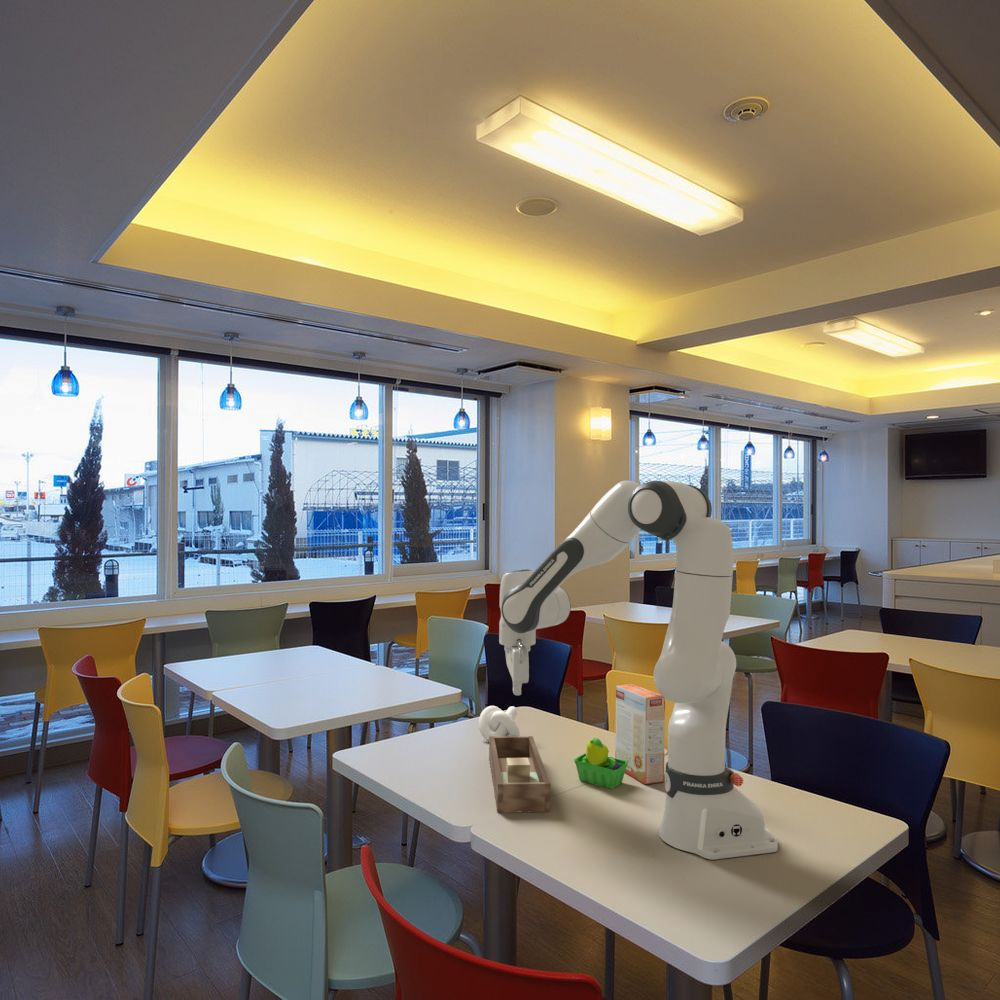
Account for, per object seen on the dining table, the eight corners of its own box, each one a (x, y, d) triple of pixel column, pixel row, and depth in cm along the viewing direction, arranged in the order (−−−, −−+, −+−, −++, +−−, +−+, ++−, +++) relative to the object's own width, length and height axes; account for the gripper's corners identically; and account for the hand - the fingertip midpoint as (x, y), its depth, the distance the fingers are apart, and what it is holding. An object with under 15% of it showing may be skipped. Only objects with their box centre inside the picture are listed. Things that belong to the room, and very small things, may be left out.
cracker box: (665, 782, 176) (666, 695, 176) (644, 785, 174) (645, 697, 174) (634, 764, 189) (635, 682, 189) (614, 766, 187) (614, 684, 187)
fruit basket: (629, 782, 176) (629, 735, 176) (611, 793, 169) (612, 744, 169) (588, 772, 183) (588, 726, 183) (569, 782, 175) (570, 735, 176)
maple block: (527, 774, 172) (527, 757, 172) (529, 782, 167) (529, 765, 167) (506, 775, 171) (506, 757, 171) (507, 782, 166) (508, 765, 166)
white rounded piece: (490, 730, 217) (491, 700, 217) (528, 736, 212) (529, 704, 212) (474, 741, 206) (475, 709, 206) (514, 747, 202) (514, 714, 202)
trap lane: (532, 759, 192) (532, 736, 192) (550, 811, 158) (550, 783, 158) (489, 759, 191) (489, 736, 191) (497, 812, 157) (497, 784, 157)
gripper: (535, 643, 167) (534, 704, 167) (526, 630, 187) (525, 684, 187) (507, 643, 166) (507, 705, 166) (501, 630, 187) (501, 684, 187)
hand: (517, 693), depth 177 cm, fingers closed
